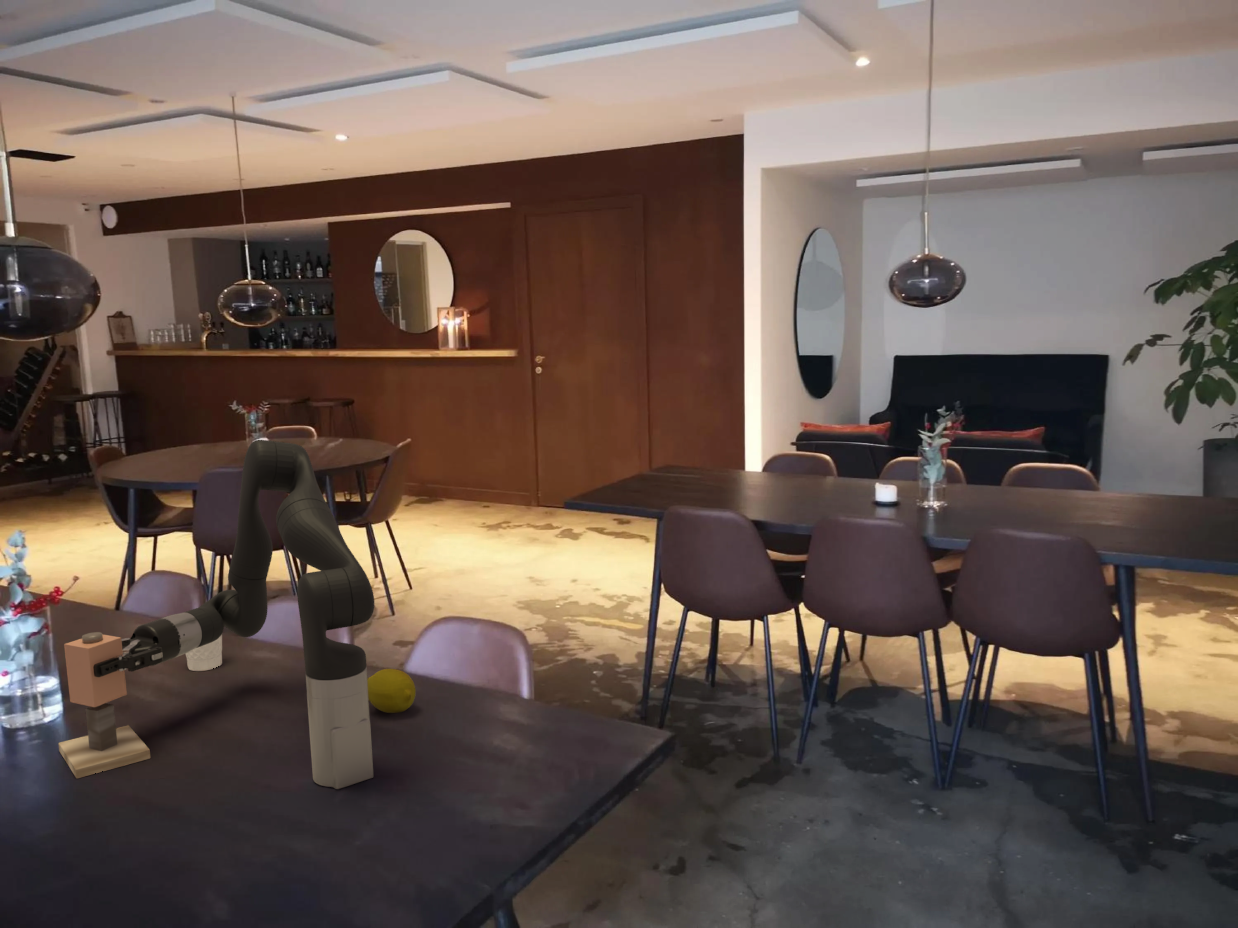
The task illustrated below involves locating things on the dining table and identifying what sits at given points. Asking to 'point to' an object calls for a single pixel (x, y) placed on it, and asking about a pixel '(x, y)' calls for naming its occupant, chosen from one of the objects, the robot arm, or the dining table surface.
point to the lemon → (391, 690)
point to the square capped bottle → (81, 671)
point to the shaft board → (105, 757)
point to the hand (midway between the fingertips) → (82, 668)
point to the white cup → (205, 656)
